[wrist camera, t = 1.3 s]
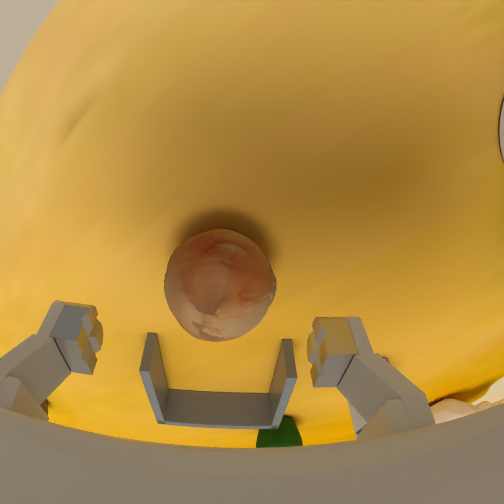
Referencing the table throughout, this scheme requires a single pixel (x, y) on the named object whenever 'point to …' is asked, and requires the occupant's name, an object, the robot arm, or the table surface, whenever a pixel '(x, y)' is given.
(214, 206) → the table surface
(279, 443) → the bell pepper
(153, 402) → the box
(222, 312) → the onion
